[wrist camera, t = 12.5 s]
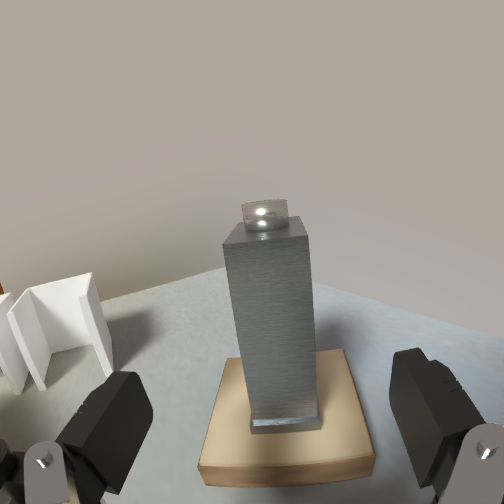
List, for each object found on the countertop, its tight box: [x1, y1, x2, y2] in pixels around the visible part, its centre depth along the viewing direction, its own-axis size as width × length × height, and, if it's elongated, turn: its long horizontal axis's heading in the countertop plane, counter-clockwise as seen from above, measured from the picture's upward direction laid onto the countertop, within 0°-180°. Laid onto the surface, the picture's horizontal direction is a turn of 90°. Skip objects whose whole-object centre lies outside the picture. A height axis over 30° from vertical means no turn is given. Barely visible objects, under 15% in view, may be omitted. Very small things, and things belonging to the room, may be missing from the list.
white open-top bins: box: [0, 272, 114, 395], centre depth 32 cm, size 25×11×11 cm, turn 116°
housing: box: [223, 199, 321, 435], centre depth 21 cm, size 5×8×16 cm, turn 175°
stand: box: [197, 348, 376, 487], centre depth 23 cm, size 12×14×3 cm
